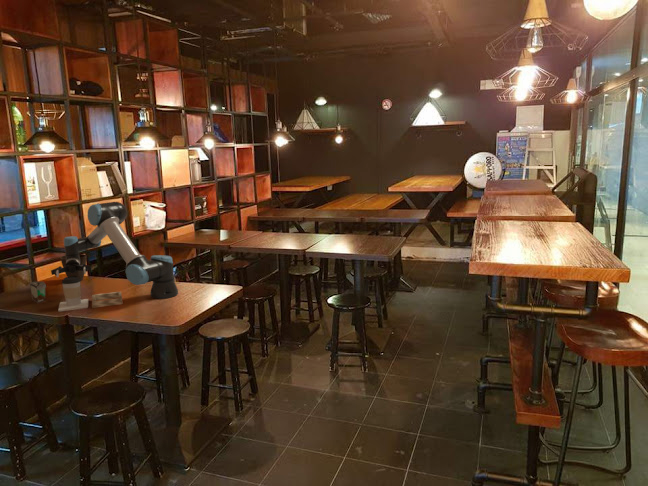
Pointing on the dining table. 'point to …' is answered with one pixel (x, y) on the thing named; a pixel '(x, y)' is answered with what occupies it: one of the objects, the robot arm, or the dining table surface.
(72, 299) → the coffee cup
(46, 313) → the dining table surface
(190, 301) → the dining table surface
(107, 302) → the cup holder
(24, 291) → the dining table surface
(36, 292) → the food container
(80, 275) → the plant pot
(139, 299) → the dining table surface
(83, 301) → the grey mat
